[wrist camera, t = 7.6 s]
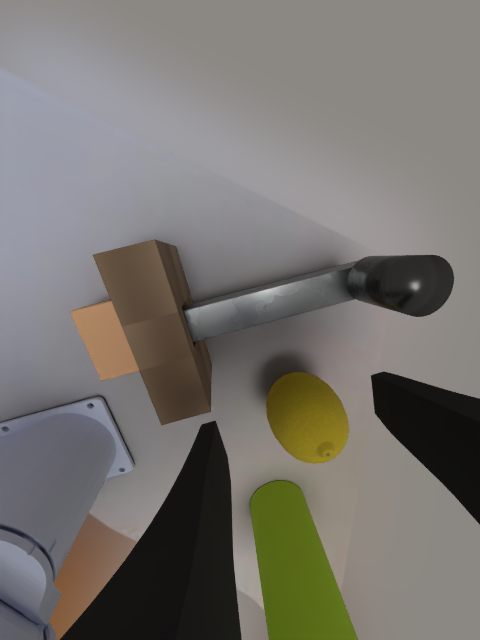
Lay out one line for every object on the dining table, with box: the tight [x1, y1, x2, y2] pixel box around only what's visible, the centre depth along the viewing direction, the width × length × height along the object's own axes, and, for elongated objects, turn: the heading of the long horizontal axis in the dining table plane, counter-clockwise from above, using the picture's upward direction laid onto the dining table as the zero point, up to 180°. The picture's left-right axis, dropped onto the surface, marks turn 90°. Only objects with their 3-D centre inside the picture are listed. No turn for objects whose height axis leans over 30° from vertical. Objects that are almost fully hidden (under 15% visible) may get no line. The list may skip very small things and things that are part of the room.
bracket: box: [93, 240, 212, 425], centre depth 16 cm, size 3×10×6 cm, turn 14°
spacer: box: [70, 300, 139, 381], centre depth 17 cm, size 4×5×4 cm
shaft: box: [181, 255, 454, 342], centre depth 13 cm, size 15×3×6 cm, turn 104°
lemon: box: [266, 372, 349, 464], centre depth 18 cm, size 6×6×8 cm
